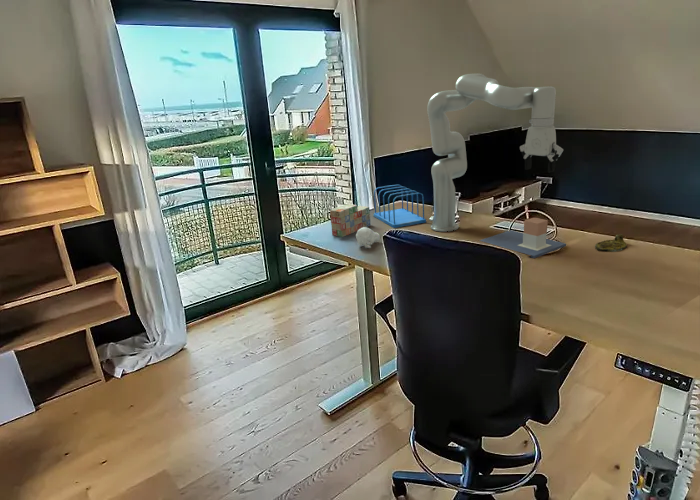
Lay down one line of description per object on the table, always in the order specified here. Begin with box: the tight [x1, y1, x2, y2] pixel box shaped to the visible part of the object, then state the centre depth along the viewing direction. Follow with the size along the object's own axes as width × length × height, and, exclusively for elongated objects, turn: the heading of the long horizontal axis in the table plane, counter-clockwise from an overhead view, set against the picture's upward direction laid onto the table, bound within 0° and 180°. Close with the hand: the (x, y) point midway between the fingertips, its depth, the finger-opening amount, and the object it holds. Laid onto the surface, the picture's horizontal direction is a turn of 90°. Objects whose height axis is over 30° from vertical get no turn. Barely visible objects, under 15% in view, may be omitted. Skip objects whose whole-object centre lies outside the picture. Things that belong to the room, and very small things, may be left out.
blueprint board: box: [478, 229, 567, 259], centre depth 189 cm, size 26×20×1 cm
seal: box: [594, 233, 628, 253], centre depth 180 cm, size 9×5×15 cm
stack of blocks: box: [329, 203, 371, 238], centre depth 222 cm, size 21×6×12 cm, turn 140°
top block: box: [523, 217, 549, 236], centre depth 182 cm, size 6×6×5 cm
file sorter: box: [373, 184, 427, 229], centre depth 234 cm, size 25×17×15 cm
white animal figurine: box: [355, 227, 381, 249], centre depth 200 cm, size 6×8×12 cm
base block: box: [522, 232, 548, 249], centre depth 183 cm, size 6×6×5 cm
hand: (539, 170), depth 175 cm, fingers open, 9 cm apart
